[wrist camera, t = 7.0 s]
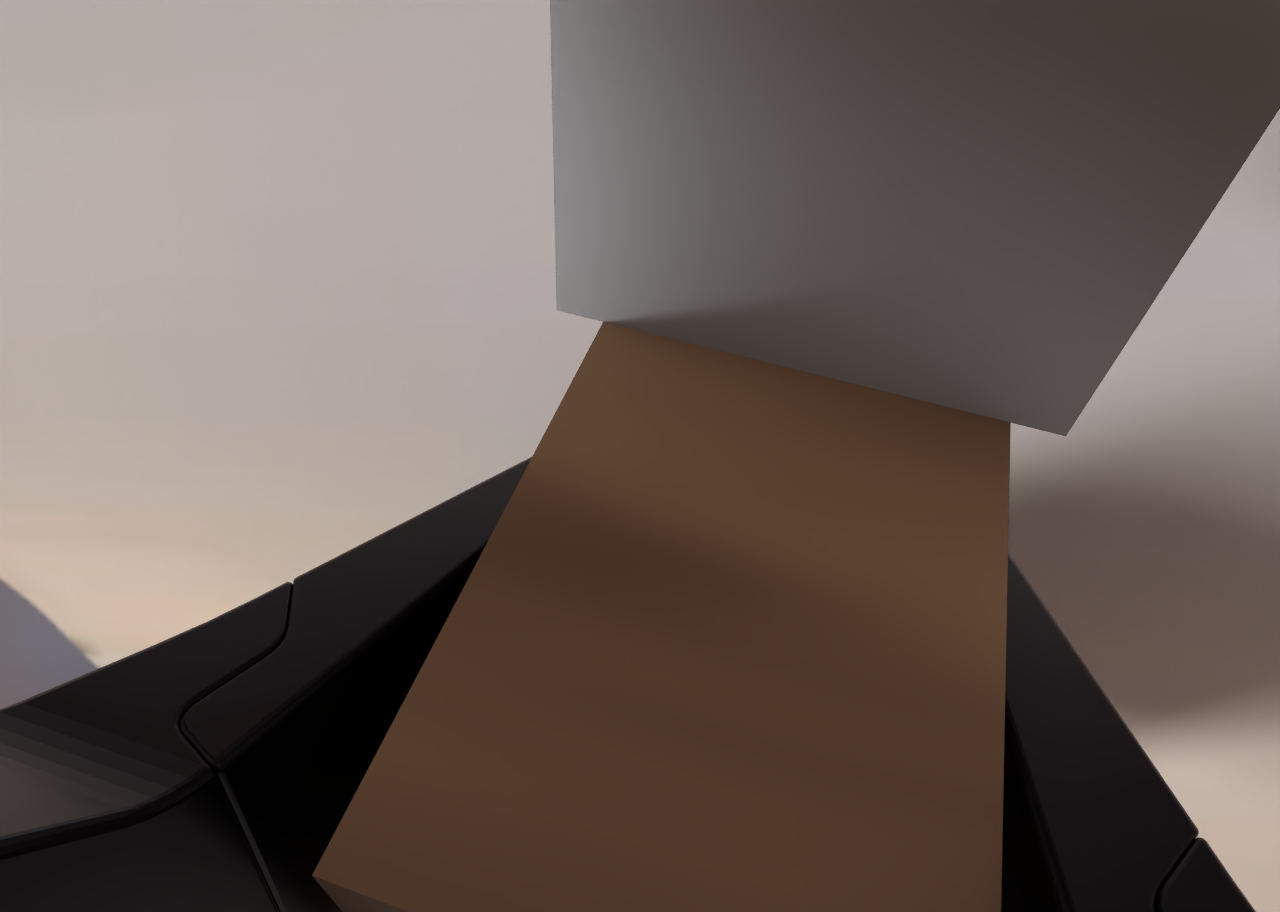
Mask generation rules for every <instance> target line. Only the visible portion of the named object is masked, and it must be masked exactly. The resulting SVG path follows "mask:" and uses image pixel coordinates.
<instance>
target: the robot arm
mask: <svg viewBox="0 0 1280 912" xmlns="http://www.w3.org/2000/svg"><path fill="white" fill-rule="evenodd" d="M531 459H532V457H531V458H529V459H527V460H525V461H523V462H521V463H519V464H517V465H515V466H513V467H511V468H509V469H507V470H505V471H503V472H501V473H499V474H497V475H496V476H494V477H492V478H490V479H488V480H486V481H484V482H482V483H480V484H478V485H476V486H474V487H472V488H470V489H468V490H466V491H464V492H462V493H460V494H458V495H457V496H455V497H453V498H451V499H449V500H447V501H445V502H443V503H441V504H439V505H437V506H435V507H433V508H431V509H429V510H427V511H425V512H423V513H421V514H419V515H418V516H416V517H414V518H412V519H410V520H408V521H406V522H404V523H402V524H400V525H398V526H396V527H394V528H392V529H390V530H388V531H386V532H384V533H382V534H380V535H379V536H377V537H375V538H373V539H371V540H369V541H367V542H365V543H363V544H361V545H359V546H357V547H355V548H353V549H351V550H349V551H347V552H345V553H343V554H341V555H340V556H338V557H336V558H334V559H332V560H330V561H328V562H326V563H324V564H322V565H320V566H318V567H316V568H314V569H312V570H310V571H308V572H306V573H304V574H302V575H300V576H299V577H297V578H295V579H294V581H293V584H292V583H290V582H286V583H284V584H282V585H280V586H279V587H277V588H275V589H273V590H271V591H269V592H267V593H265V594H263V595H261V596H259V597H257V598H255V599H253V600H251V601H249V602H247V603H245V604H243V605H241V606H239V607H237V608H235V609H232V610H230V611H228V612H226V613H224V614H222V615H220V616H218V617H216V618H214V619H212V620H210V621H208V622H206V623H203V624H201V625H199V626H197V627H194V628H192V629H190V630H188V631H185V632H183V633H181V634H179V635H176V636H174V637H172V638H169V639H167V640H165V641H163V642H160V643H158V644H156V645H154V646H151V647H149V648H147V649H144V650H142V651H139V652H137V653H135V654H132V655H130V656H128V657H125V658H123V659H121V660H118V661H116V662H113V663H111V664H109V665H106V666H104V667H102V668H99V669H97V670H94V671H92V672H90V673H87V674H85V675H83V676H80V677H78V678H76V679H73V680H71V681H68V682H66V683H64V684H61V685H59V686H57V687H54V688H52V689H49V690H47V691H45V692H42V693H40V694H38V695H35V696H33V697H30V698H28V699H26V700H23V701H21V702H18V703H16V704H13V705H11V706H8V707H5V708H3V709H0V912H342V911H341V909H340V908H339V907H338V906H337V905H336V903H335V902H334V901H333V900H332V899H331V898H330V896H329V895H328V894H327V893H326V892H325V890H324V889H323V888H322V887H321V886H320V885H319V883H318V882H317V881H316V880H315V879H314V877H313V876H312V875H313V873H314V871H315V869H316V867H317V865H318V863H319V861H320V859H321V858H322V856H323V854H324V852H325V850H326V848H327V846H328V844H329V842H330V840H331V839H332V837H333V835H334V833H335V831H336V829H337V827H338V825H339V823H340V821H341V820H342V818H343V816H344V814H345V812H346V810H347V808H348V806H349V804H350V802H351V801H352V799H353V797H354V795H355V793H356V791H357V789H358V787H359V785H360V783H361V782H362V780H363V778H364V776H365V774H366V772H367V770H368V768H369V766H370V764H371V763H372V761H373V759H374V757H375V755H376V753H377V751H378V749H379V747H380V745H381V744H382V742H383V740H384V738H385V736H386V734H387V732H388V730H389V728H390V726H391V725H392V723H393V721H394V719H395V717H396V715H397V713H398V711H399V709H400V707H401V706H402V704H403V702H404V700H405V698H406V696H407V694H408V692H409V690H410V688H411V687H412V685H413V683H414V681H415V679H416V677H417V675H418V673H419V671H420V669H421V668H422V666H423V664H424V662H425V660H426V658H427V656H428V654H429V652H430V650H431V649H432V647H433V645H434V643H435V641H436V639H437V637H438V635H439V633H440V631H441V630H442V628H443V626H444V624H445V622H446V620H447V618H448V616H449V614H450V612H451V611H452V609H453V607H454V605H455V603H456V601H457V599H458V597H459V595H460V593H461V592H462V590H463V588H464V586H465V584H466V582H467V580H468V578H469V576H470V574H471V573H472V571H473V569H474V567H475V565H476V563H477V561H478V559H479V557H480V555H481V554H482V552H483V550H484V548H485V546H486V544H487V542H488V540H489V538H490V536H491V535H492V533H493V531H494V529H495V527H496V525H497V523H498V521H499V519H500V517H501V516H502V514H503V512H504V510H505V508H506V506H507V504H508V502H509V500H510V498H511V497H512V495H513V493H514V491H515V489H516V487H517V485H518V483H519V481H520V479H521V478H522V476H523V474H524V472H525V470H526V468H527V466H528V464H529V462H530V460H531ZM1198 834H1199V831H1198V829H1197V827H1196V826H1195V824H1194V823H1193V822H1192V820H1191V819H1190V817H1189V816H1188V814H1187V813H1186V811H1185V810H1184V808H1183V807H1182V806H1181V804H1180V803H1179V801H1178V800H1177V798H1176V797H1175V795H1174V794H1173V792H1172V791H1171V789H1170V788H1169V787H1168V785H1167V784H1166V782H1165V781H1164V779H1163V778H1162V776H1161V775H1160V773H1159V772H1158V770H1157V769H1156V768H1155V766H1154V765H1153V763H1152V762H1151V760H1150V759H1149V757H1148V756H1147V754H1146V753H1145V752H1144V750H1143V749H1142V747H1141V746H1140V744H1139V743H1138V741H1137V740H1136V738H1135V737H1134V735H1133V734H1132V733H1131V731H1130V730H1129V728H1128V727H1127V725H1126V724H1125V722H1124V721H1123V719H1122V718H1121V716H1120V715H1119V714H1118V712H1117V711H1116V709H1115V708H1114V706H1113V705H1112V703H1111V702H1110V700H1109V699H1108V698H1107V696H1106V695H1105V693H1104V692H1103V690H1102V689H1101V687H1100V686H1099V684H1098V683H1097V681H1096V680H1095V679H1094V677H1093V676H1092V674H1091V673H1090V671H1089V670H1088V668H1087V667H1086V665H1085V664H1084V663H1083V661H1082V660H1081V658H1080V657H1079V655H1078V654H1077V652H1076V651H1075V649H1074V648H1073V646H1072V645H1071V644H1070V642H1069V641H1068V639H1067V638H1066V636H1065V635H1064V633H1063V632H1062V630H1061V629H1060V627H1059V626H1058V625H1057V623H1056V622H1055V620H1054V619H1053V617H1052V616H1051V614H1050V613H1049V611H1048V610H1047V609H1046V607H1045V606H1044V604H1043V603H1042V601H1041V600H1040V598H1039V597H1038V595H1037V594H1036V592H1035V591H1034V590H1033V588H1032V587H1031V585H1030V584H1029V582H1028V581H1027V579H1026V578H1025V576H1024V575H1023V573H1022V572H1021V571H1020V569H1019V568H1018V566H1017V565H1016V563H1015V562H1014V560H1013V559H1012V557H1011V556H1010V555H1009V554H1008V576H1007V628H1006V681H1005V733H1004V785H1003V838H1002V890H1001V912H1256V911H1255V910H1254V908H1253V907H1252V906H1251V904H1250V903H1249V902H1248V900H1247V899H1246V897H1245V896H1244V895H1243V893H1242V892H1241V890H1240V889H1239V888H1238V886H1237V885H1236V883H1235V882H1234V881H1233V879H1232V878H1231V876H1230V875H1229V873H1228V872H1227V871H1226V869H1225V868H1224V866H1223V865H1222V863H1221V862H1220V860H1219V859H1218V857H1217V856H1216V854H1215V853H1214V852H1213V850H1212V849H1211V847H1210V846H1209V844H1208V843H1207V841H1206V840H1205V839H1203V838H1196V837H1197V836H1198Z"/></svg>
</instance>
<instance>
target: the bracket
mask: <svg viewBox="0 0 1280 912" xmlns="http://www.w3.org/2000/svg"><path fill="white" fill-rule="evenodd" d="M550 16H551V64H552V111H553V158H554V205H555V253H556V300H557V310H558V311H562V312H566V313H570V314H574V315H578V316H582V317H586V318H591V319H595V320H599V321H603V324H602V326H601V328H600V329H599V331H598V333H597V335H596V337H595V339H594V341H593V343H592V345H591V347H590V348H589V350H588V352H587V354H586V356H585V358H584V360H583V362H582V364H581V365H580V367H579V369H578V371H577V373H576V375H575V377H574V379H573V381H572V383H571V384H570V386H569V388H568V390H567V392H566V394H565V396H564V398H563V400H562V402H561V403H560V405H559V407H558V409H557V411H556V413H555V415H554V417H553V419H552V421H551V422H550V424H549V426H548V428H547V430H546V432H545V434H544V436H543V438H542V440H541V441H540V443H539V445H538V447H537V449H536V451H535V453H534V455H533V457H532V459H531V460H530V462H529V464H528V466H527V468H526V470H525V472H524V474H523V476H522V478H521V479H520V481H519V483H518V485H517V487H516V489H515V491H514V493H513V495H512V497H511V498H510V500H509V502H508V504H507V506H506V508H505V510H504V512H503V514H502V516H501V517H500V519H499V521H498V523H497V525H496V527H495V529H494V531H493V533H492V535H491V536H490V538H489V540H488V542H487V544H486V546H485V548H484V550H483V552H482V554H481V555H480V557H479V559H478V561H477V563H476V565H475V567H474V569H473V571H472V573H471V574H470V576H469V578H468V580H467V582H466V584H465V586H464V588H463V590H462V592H461V593H460V595H459V597H458V599H457V601H456V603H455V605H454V607H453V609H452V611H451V612H450V614H449V616H448V618H447V620H446V622H445V624H444V626H443V628H442V630H441V631H440V633H439V635H438V637H437V639H436V641H435V643H434V645H433V647H432V649H431V650H430V652H429V654H428V656H427V658H426V660H425V662H424V664H423V666H422V668H421V669H420V671H419V673H418V675H417V677H416V679H415V681H414V683H413V685H412V687H411V688H410V690H409V692H408V694H407V696H406V698H405V700H404V702H403V704H402V706H401V707H400V709H399V711H398V713H397V715H396V717H395V719H394V721H393V723H392V725H391V726H390V728H389V730H388V732H387V734H386V736H385V738H384V740H383V742H382V744H381V745H380V747H379V749H378V751H377V753H376V755H375V757H374V759H373V761H372V763H371V764H370V766H369V768H368V770H367V772H366V774H365V776H364V778H363V780H362V782H361V783H360V785H359V787H358V789H357V791H356V793H355V795H354V797H353V799H352V801H351V802H350V804H349V806H348V808H347V810H346V812H345V814H344V816H343V818H342V820H341V821H340V823H339V825H338V827H337V829H336V831H335V833H334V835H333V837H332V839H331V840H330V842H329V844H328V846H327V848H326V850H325V852H324V854H323V856H322V858H321V859H320V861H319V863H318V865H317V867H316V869H315V871H314V873H313V875H312V876H313V877H314V879H315V880H316V881H317V882H318V883H319V885H320V886H321V887H322V888H323V889H324V890H325V892H326V893H327V894H328V895H329V896H330V898H331V899H332V900H333V901H334V902H335V903H336V905H337V906H338V907H339V908H340V909H341V911H342V912H1001V890H1002V838H1003V785H1004V733H1005V681H1006V628H1007V576H1008V524H1009V472H1010V422H1011V423H1015V424H1019V425H1023V426H1027V427H1031V428H1035V429H1039V430H1043V431H1047V432H1051V433H1055V434H1060V435H1064V436H1066V435H1067V433H1068V432H1069V430H1070V429H1071V427H1072V426H1073V424H1074V423H1075V421H1076V420H1077V418H1078V416H1079V415H1080V413H1081V412H1082V410H1083V409H1084V407H1085V406H1086V404H1087V403H1088V401H1089V400H1090V398H1091V397H1092V395H1093V394H1094V392H1095V390H1096V389H1097V387H1098V386H1099V384H1100V383H1101V381H1102V380H1103V378H1104V377H1105V375H1106V374H1107V372H1108V371H1109V369H1110V367H1111V366H1112V364H1113V363H1114V361H1115V360H1116V358H1117V357H1118V355H1119V354H1120V352H1121V351H1122V349H1123V348H1124V346H1125V345H1126V343H1127V341H1128V340H1129V338H1130V337H1131V335H1132V334H1133V332H1134V331H1135V329H1136V328H1137V326H1138V325H1139V323H1140V322H1141V320H1142V318H1143V317H1144V315H1145V314H1146V312H1147V311H1148V309H1149V308H1150V306H1151V305H1152V303H1153V302H1154V300H1155V299H1156V297H1157V296H1158V294H1159V292H1160V291H1161V289H1162V288H1163V286H1164V285H1165V283H1166V282H1167V280H1168V279H1169V277H1170V276H1171V274H1172V273H1173V271H1174V269H1175V268H1176V266H1177V265H1178V263H1179V262H1180V260H1181V259H1182V257H1183V256H1184V254H1185V253H1186V251H1187V250H1188V248H1189V246H1190V245H1191V243H1192V242H1193V240H1194V239H1195V237H1196V236H1197V234H1198V233H1199V231H1200V230H1201V228H1202V227H1203V225H1204V224H1205V222H1206V220H1207V219H1208V217H1209V216H1210V214H1211V213H1212V211H1213V210H1214V208H1215V207H1216V205H1217V204H1218V202H1219V201H1220V199H1221V197H1222V196H1223V194H1224V193H1225V191H1226V190H1227V188H1228V187H1229V185H1230V184H1231V182H1232V181H1233V179H1234V178H1235V176H1236V175H1237V173H1238V171H1239V170H1240V168H1241V167H1242V165H1243V164H1244V162H1245V161H1246V159H1247V158H1248V156H1249V155H1250V153H1251V152H1252V150H1253V148H1254V147H1255V145H1256V144H1257V142H1258V141H1259V139H1260V138H1261V136H1262V135H1263V133H1264V132H1265V130H1266V129H1267V127H1268V126H1269V124H1270V122H1271V121H1272V119H1273V118H1274V116H1275V115H1276V113H1277V112H1278V110H1279V109H1280V0H550Z"/></svg>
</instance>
